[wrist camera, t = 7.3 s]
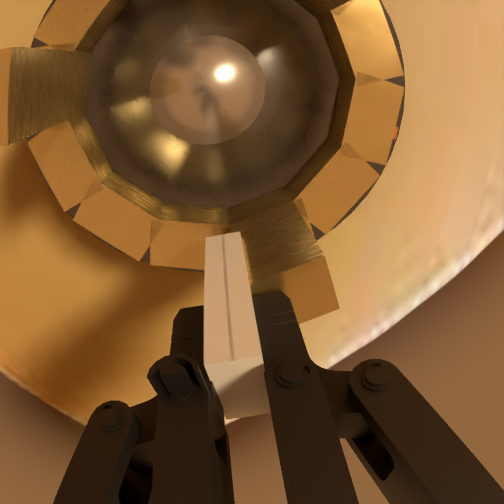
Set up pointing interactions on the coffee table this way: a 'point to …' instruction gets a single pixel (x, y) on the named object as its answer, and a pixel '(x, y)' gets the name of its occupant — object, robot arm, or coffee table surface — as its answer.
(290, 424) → the robot arm
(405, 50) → the coffee table surface
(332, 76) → the cap plate
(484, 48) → the coffee table surface
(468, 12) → the coffee table surface
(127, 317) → the coffee table surface
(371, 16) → the round dome base
